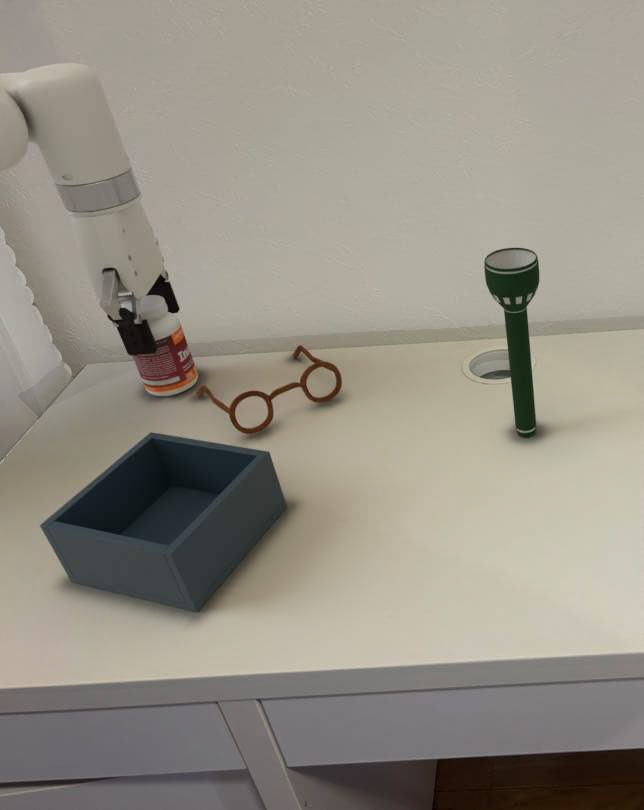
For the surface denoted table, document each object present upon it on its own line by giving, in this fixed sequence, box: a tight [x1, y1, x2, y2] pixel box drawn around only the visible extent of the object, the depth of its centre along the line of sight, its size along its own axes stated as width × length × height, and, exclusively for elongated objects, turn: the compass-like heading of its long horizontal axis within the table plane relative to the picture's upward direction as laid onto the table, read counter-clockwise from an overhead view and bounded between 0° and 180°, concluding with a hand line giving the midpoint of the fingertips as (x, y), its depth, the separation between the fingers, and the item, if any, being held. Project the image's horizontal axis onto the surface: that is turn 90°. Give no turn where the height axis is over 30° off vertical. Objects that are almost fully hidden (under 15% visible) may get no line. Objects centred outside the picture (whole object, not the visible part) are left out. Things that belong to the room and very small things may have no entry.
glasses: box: [196, 344, 343, 435], centre depth 93 cm, size 13×13×5 cm
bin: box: [39, 431, 288, 613], centre depth 72 cm, size 14×14×7 cm
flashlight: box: [483, 247, 540, 439], centre depth 79 cm, size 5×5×20 cm
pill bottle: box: [121, 295, 199, 397], centre depth 95 cm, size 6×6×11 cm
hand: (155, 332), depth 94 cm, fingers open, 9 cm apart
